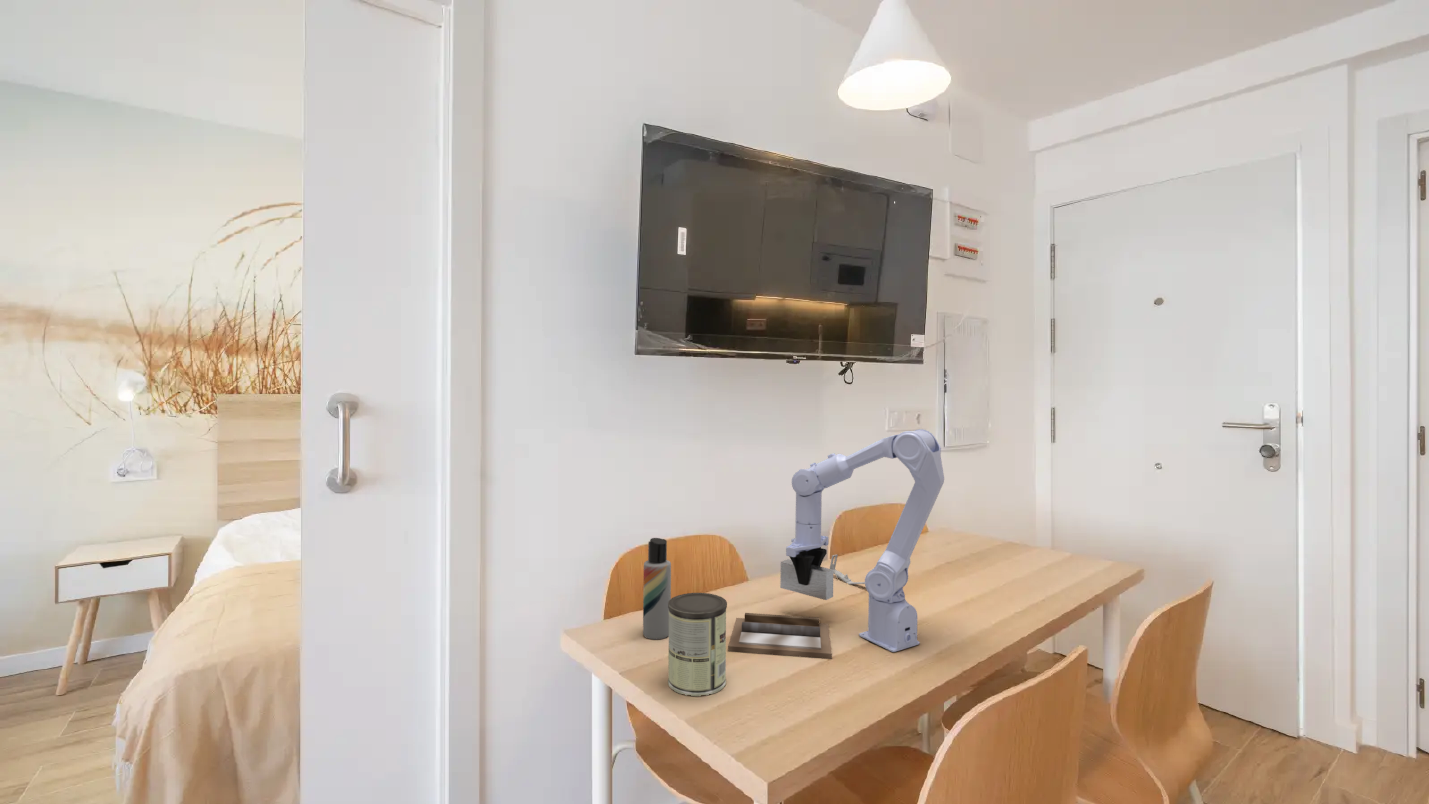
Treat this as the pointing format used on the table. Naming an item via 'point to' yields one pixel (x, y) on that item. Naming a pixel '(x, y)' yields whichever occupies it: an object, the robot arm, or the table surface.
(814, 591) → the grey speckled stone slab
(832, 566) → the bracket
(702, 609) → the coffee can
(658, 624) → the lotion bottle
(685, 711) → the table surface
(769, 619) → the hinge base
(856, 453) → the robot arm
